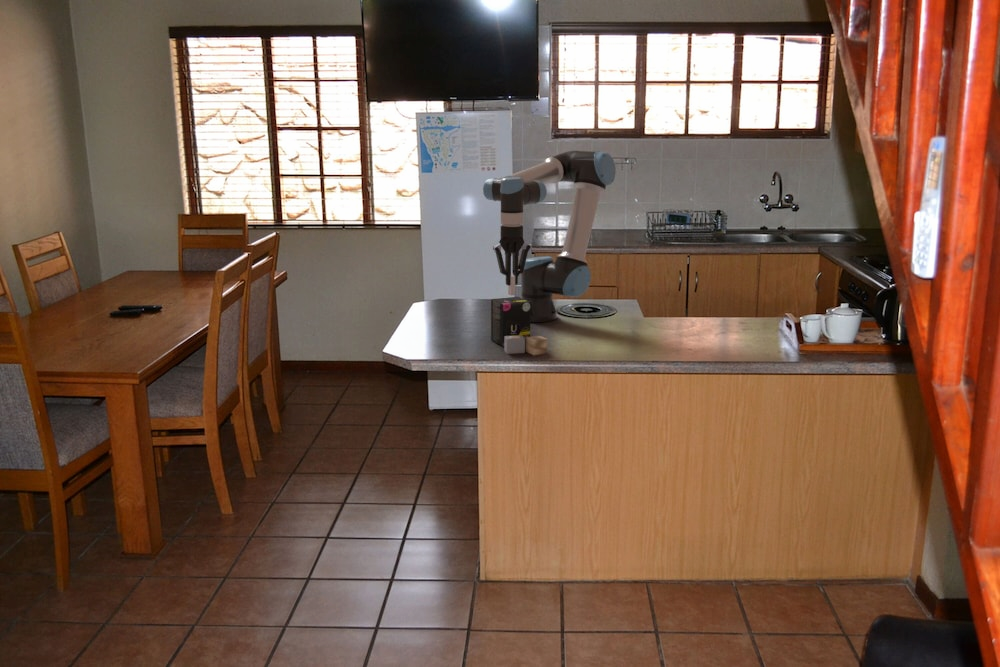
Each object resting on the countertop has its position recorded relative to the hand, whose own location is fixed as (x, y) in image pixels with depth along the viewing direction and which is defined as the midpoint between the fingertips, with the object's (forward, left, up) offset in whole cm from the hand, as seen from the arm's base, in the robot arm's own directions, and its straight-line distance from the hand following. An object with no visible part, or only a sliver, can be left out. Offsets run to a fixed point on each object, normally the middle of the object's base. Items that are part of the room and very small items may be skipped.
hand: (511, 294), depth 302 cm
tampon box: (0, 0, -17) cm, 17 cm away
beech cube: (-3, +15, -17) cm, 23 cm away
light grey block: (+3, +12, -17) cm, 21 cm away
